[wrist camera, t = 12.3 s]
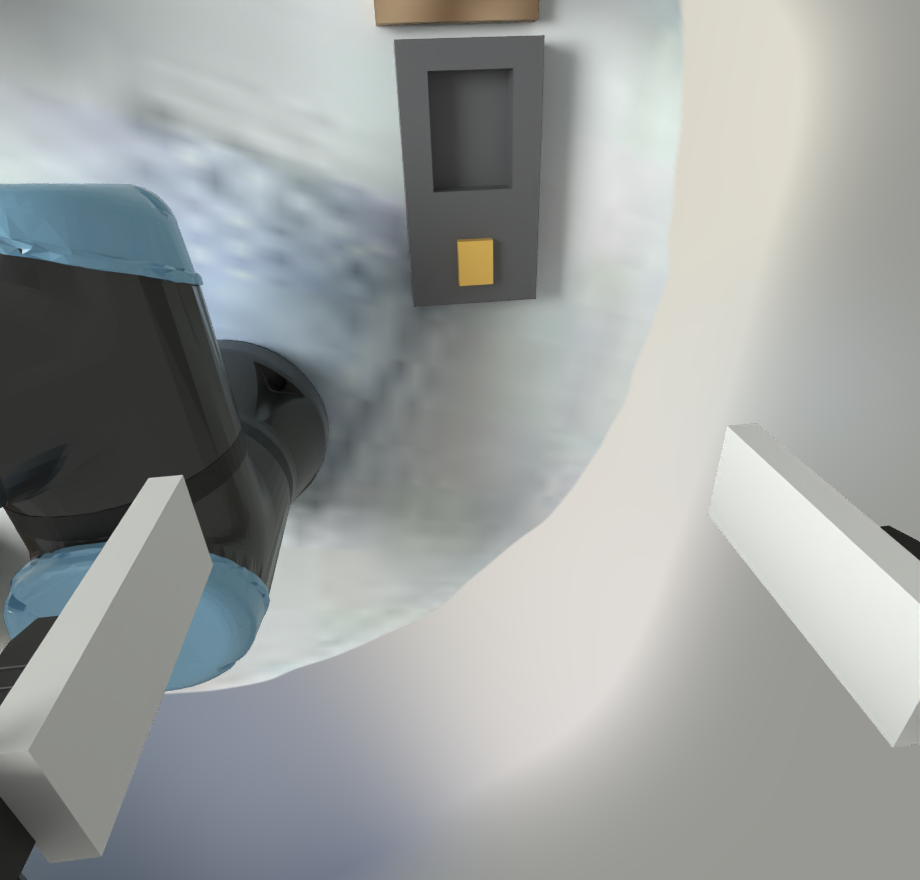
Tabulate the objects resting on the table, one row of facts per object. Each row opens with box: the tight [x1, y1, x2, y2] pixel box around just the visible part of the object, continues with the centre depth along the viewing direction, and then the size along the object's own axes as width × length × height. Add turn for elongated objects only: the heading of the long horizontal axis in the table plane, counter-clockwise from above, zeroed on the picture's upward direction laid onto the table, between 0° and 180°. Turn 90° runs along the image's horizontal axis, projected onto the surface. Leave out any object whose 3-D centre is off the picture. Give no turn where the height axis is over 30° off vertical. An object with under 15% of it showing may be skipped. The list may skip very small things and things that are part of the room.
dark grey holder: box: [394, 35, 544, 307], centre depth 39 cm, size 9×16×4 cm, turn 2°
